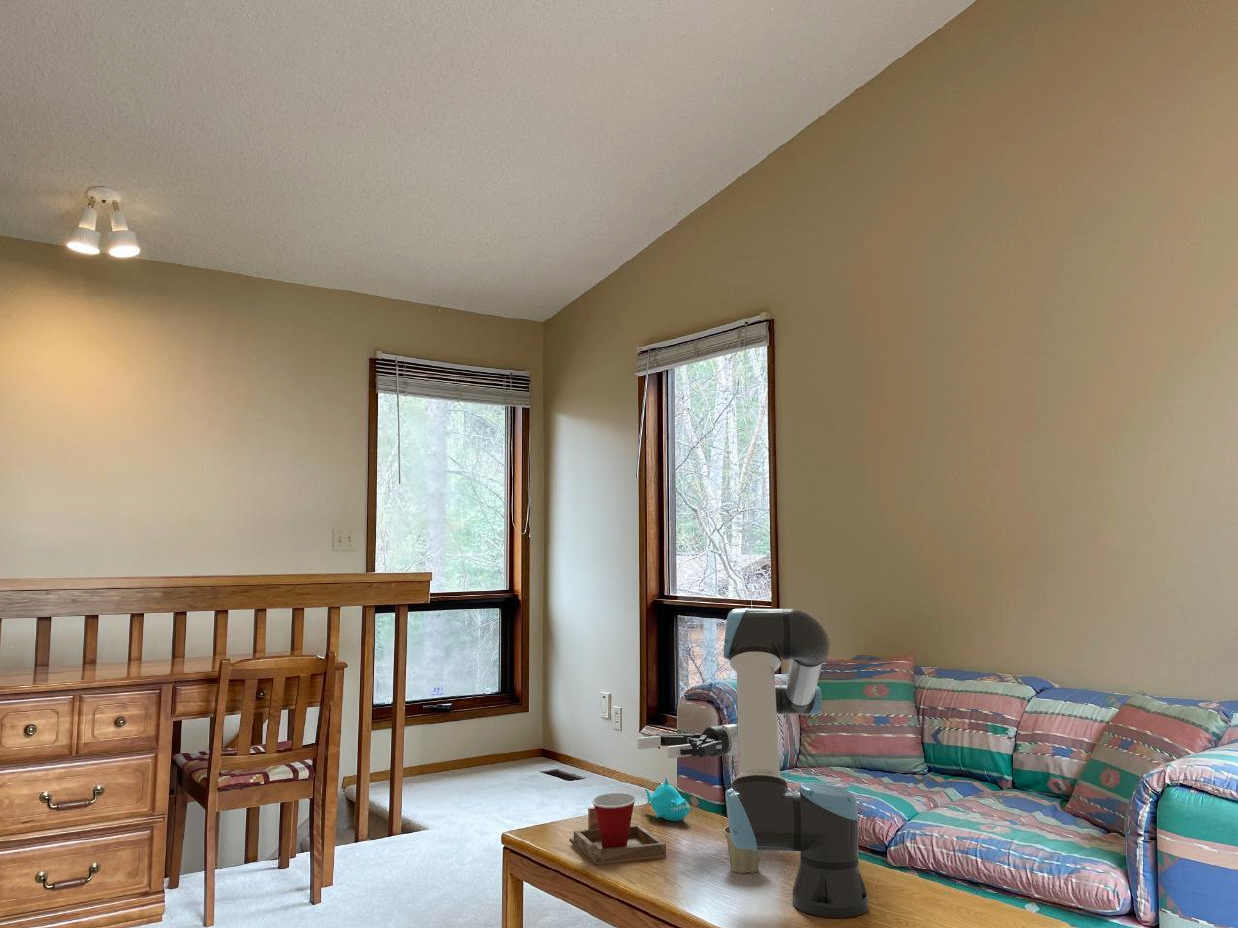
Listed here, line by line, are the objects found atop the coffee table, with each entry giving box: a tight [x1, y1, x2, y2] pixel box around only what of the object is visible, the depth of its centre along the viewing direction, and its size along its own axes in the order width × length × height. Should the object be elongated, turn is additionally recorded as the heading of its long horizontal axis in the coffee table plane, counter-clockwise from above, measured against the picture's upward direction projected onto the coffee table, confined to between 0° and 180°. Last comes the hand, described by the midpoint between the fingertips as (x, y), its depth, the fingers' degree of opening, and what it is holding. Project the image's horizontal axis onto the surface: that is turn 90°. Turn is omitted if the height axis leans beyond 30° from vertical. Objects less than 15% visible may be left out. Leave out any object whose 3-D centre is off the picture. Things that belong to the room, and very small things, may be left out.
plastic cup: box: [591, 792, 637, 849], centre depth 232 cm, size 11×11×12 cm
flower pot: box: [722, 825, 761, 874], centre depth 218 cm, size 9×9×9 cm
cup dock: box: [569, 806, 667, 865], centre depth 234 cm, size 21×17×8 cm
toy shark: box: [644, 777, 691, 822], centre depth 261 cm, size 10×18×11 cm, turn 37°
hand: (652, 747), depth 239 cm, fingers open, 13 cm apart
